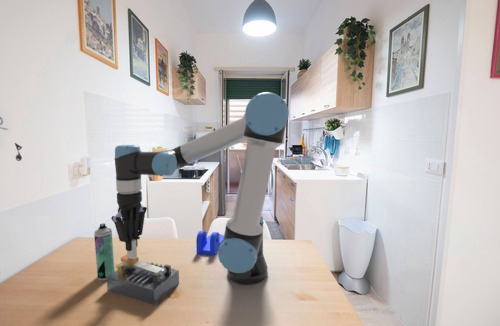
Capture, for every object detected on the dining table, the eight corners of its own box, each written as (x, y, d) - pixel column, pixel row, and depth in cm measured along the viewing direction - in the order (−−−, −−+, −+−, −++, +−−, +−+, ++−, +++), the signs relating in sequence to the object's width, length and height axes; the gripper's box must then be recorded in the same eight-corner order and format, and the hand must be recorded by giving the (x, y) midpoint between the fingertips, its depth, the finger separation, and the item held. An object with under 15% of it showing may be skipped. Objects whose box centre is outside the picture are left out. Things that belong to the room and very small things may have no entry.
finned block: (179, 283, 87) (178, 259, 86) (154, 305, 76) (153, 278, 75) (135, 272, 94) (134, 250, 93) (107, 290, 83) (105, 266, 82)
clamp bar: (167, 273, 83) (167, 266, 82) (160, 278, 80) (161, 270, 79) (127, 260, 89) (127, 253, 88) (120, 264, 86) (120, 257, 85)
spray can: (109, 270, 95) (105, 220, 93) (117, 274, 92) (114, 223, 90) (94, 277, 91) (90, 225, 88) (102, 282, 88) (98, 228, 85)
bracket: (214, 255, 107) (214, 236, 106) (196, 254, 109) (196, 234, 108) (226, 238, 125) (226, 221, 124) (210, 237, 126) (210, 220, 125)
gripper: (136, 186, 90) (138, 247, 93) (103, 194, 78) (107, 264, 81) (152, 188, 87) (154, 251, 90) (121, 197, 75) (124, 269, 78)
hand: (132, 257), depth 85 cm, fingers closed
